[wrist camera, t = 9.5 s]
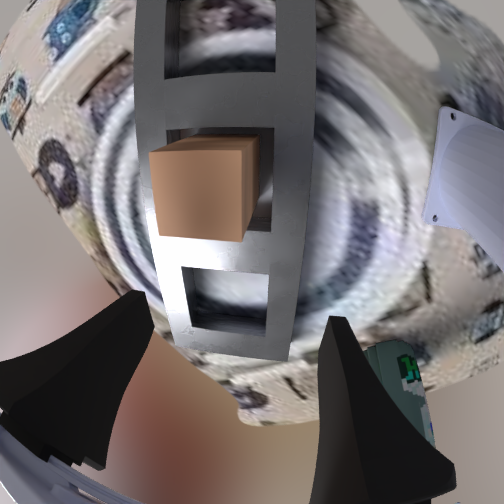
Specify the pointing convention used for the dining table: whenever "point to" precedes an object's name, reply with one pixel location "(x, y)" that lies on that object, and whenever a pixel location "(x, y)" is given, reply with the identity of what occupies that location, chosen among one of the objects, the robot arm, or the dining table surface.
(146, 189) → the grey flat perforated plate
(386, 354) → the can
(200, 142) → the square block
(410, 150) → the dining table surface
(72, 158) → the dining table surface
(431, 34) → the dining table surface
